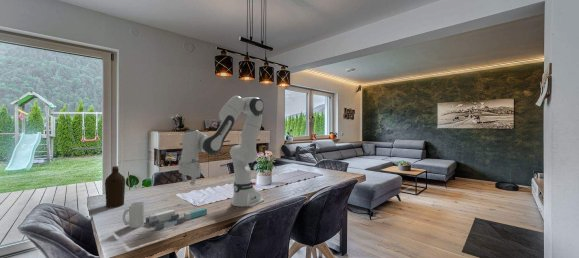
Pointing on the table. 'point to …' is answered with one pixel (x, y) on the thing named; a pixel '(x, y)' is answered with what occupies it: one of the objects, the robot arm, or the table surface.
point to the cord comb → (165, 222)
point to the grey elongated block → (162, 216)
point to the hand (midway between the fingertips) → (188, 183)
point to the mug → (135, 215)
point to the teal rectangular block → (195, 213)
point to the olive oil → (115, 188)
